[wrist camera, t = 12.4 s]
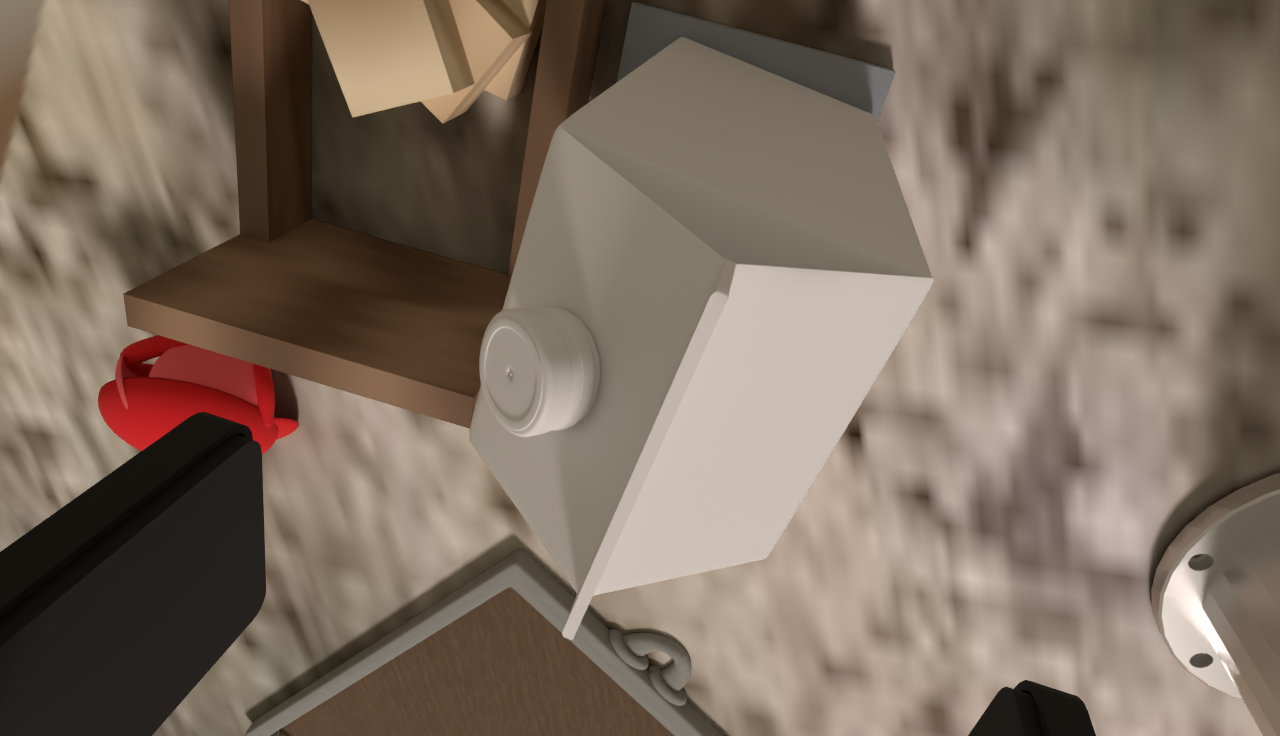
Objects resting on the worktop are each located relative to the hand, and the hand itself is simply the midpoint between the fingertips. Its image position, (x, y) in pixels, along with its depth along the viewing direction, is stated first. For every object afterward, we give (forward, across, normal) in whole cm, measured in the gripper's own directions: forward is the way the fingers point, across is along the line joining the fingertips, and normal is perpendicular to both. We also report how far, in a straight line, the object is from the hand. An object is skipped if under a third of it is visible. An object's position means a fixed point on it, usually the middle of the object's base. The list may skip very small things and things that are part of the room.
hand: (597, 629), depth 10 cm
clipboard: (+23, +5, +37) cm, 44 cm away
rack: (+22, +13, 0) cm, 25 cm away
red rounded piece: (+22, +21, +16) cm, 34 cm away
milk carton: (+22, +1, 0) cm, 22 cm away
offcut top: (+18, +13, -4) cm, 22 cm away
